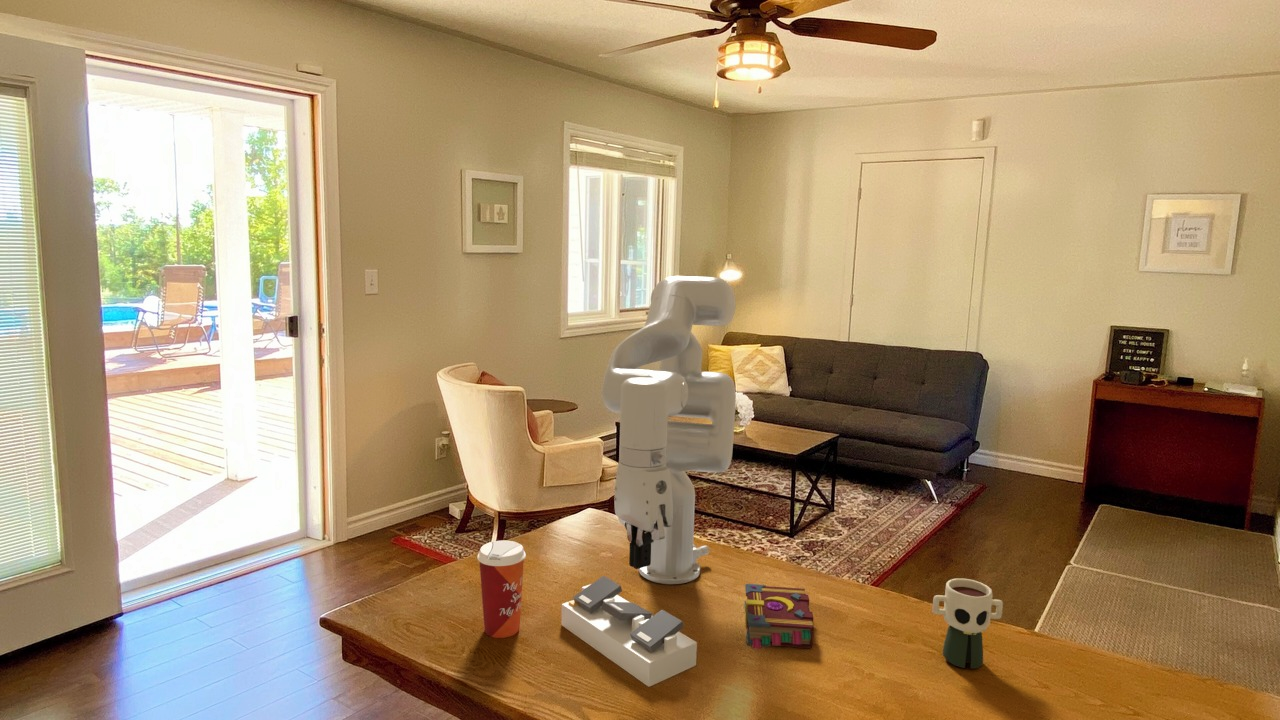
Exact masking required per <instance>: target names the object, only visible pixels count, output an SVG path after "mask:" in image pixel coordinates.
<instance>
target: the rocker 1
mask: <svg viewBox="0 0 1280 720" xmlns="http://www.w3.org/2000/svg"><path fill="white" fill-rule="evenodd" d="M590 584H591V585H590ZM590 584H588V585H589V586H588V587H587V588H585V589H584V590H582V589H581V591H579V592H578V593H577V594H575V595H574V596H573V598H572V599H574V602H575V603H576V604H578V605H579V606H581V607H582V608H584V609H585V610H587V611H588V612H590V613H593V612H594V611H596V610H597V609H598V608H600V607H601V606H602V604H603V600H605V599H608V598H611V597H615V596H616V595H619V594H620V593H622V591H623V589H622V586H621V585H620V584H618V583H617V582H615V581H614V580H612V579H610V578H608V577H607V576H605V575H602V576H601V577H600V578H598V579H597V580H596V581H594V582H592V583H590Z"/></svg>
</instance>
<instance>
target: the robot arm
mask: <svg viewBox="0 0 1280 720" xmlns="http://www.w3.org/2000/svg"><path fill="white" fill-rule="evenodd" d="M735 312H736V296H735V292H734V289H733V288H732V286H731V285H730V284H729V283H728V282H727V281H726V280H724V278H723V279H722V278H721V277H716V276H692V275H691V276H689V275H688V276H686V275H674V276H673V275H672V276H667V277H664V278H663V279H661V280H660V281H659V282H658V283H657V284H656V286H655V287H654V288H653V289H652V292H651V295H650V305H649V309H648V313H647V316H646V320H645V323H644V326H643V327H641V328H640V329H637V330H636V331H635V332H633V333H631V334H630V335H629V336H627V337H626V338H625V339H624V340H622V341H620V343H618V345H617V346H616V347H614V349H613V351H612V352H611V355H610V357H609V360H608V363H607V366H606V369H605V371H604V372H605V373H604V375H603V380H602V385H601V399H602V402H603V404H604V407H605V408H606V409H608V410H609V411H610V412H613V413H617V414H619V415H620V416H619V444H618V445H619V449H618V450H619V452H618V453H619V455H618V456H619V457H618V464H617V468H616V474H615V475H616V476H615V484H614V498H613V499H614V503H613V504H614V513H615V516H616V517H618V522H620V523H621V524H622V526H623V527H624V528H625V530H626V535H627V536H626V538H627V540H628V542H629V556H628V557H629V561H628V565H629V566H630V567H632V568H634V569H635V570H638V572H639V574H640V575H641V576H642V577H643V578H645V580H648V581H650V582H653V583H657V584H662V585H681V584H685V583H686V584H687V583H689V582H693V581H694V580H696V579H697V578H698V577H699V576H700V574H701V566H700V564H699V563H698V562H697V560H699V558H700V557H702V556H705V555H709V553H710V548H709V546H708V545H702V546H698V547H697V546H696V544H694V538H695V537H694V536H695V535H694V534H695V533H694V531H695V506H696V505H695V503H696V502H695V501H696V490H695V487H694V484H693V483H692V480H691V479H690V477H689V475H687V473H686V472H689V471H690V472H700V473H702V472H703V473H722V472H725V471H727V470H728V469H729V467H730V465H731V462H732V458H733V448H734V435H735V433H734V432H735V420H736V418H735V417H736V401H737V400H736V395H737V394H736V392H737V391H736V386H735V382H734V380H733V378H732V377H731V376H730V375H729V374H727V373H725V372H718V371H716V372H715V371H705V370H704V371H703V370H702V363H703V362H702V361H703V348H702V345H701V343H700V341H699V340H698V338H696V336H695V335H694V333H692V328H693V326H707V327H708V326H709V327H710V326H712V327H726V326H728V325H729V324H730V323H731V322H732V321H733V318H734V316H735ZM657 362H660V363H659V364H660V367H659V370H652V369H639V368H641V367H643V366H646V365H649V364H652V363H657ZM672 417H681V418H683V417H685V418H696V419H708V420H710V421H711V423H698V422H697V423H696V422H691V421H690V422H687V421H673V420H670V421H669V420H668V418H672Z"/></svg>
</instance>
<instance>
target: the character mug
mask: <svg viewBox="0 0 1280 720" xmlns="http://www.w3.org/2000/svg"><path fill="white" fill-rule="evenodd" d="M993 597H994V596H993V589H992V588H990V587H989V586H988V585H986V584H985V583H982V582H981V581H977V580H974V579H969V578H951V579H949V580H948V581H946V583H945V591H944V595H940V594H937V595H934V596H933V599H932V610H931V611H932V614H935V615H941V616H942V615H943V619H944V621H945V623H947V624H948V625H949V626H948V627H947V629H946V630H947V631H946V635H945V640H944V644H943V648H942V656H943V657H944V658H945V661H947V662H949V663H950V664H952V665H953V666H957V667H960V668H966V663H970V669H976V668H980V667H981V666H982V665H983V664H984V646H983V645H984V644H983V643H984V642H983V635H982V634H983V633H982V632H984V631H986V630H987V629H988V628H989V626H990V625H991V620H993V619H994V620H1001V619H1002V617H1003V608H1004V607H1003V605H1004V602H1003V600H1001V599H996V598H995V599H993ZM940 602H943V603H944V604H943V608H940ZM992 606H995V608H996V609H995V612H992Z"/></svg>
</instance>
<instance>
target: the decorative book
mask: <svg viewBox="0 0 1280 720" xmlns="http://www.w3.org/2000/svg"><path fill="white" fill-rule="evenodd" d="M744 590H745V597H746V598H747V599H745V600H744V613H745V615H744V626H745V627H747V628H746V645H747V646H752V649H756V650H757V649H758V650H761V647H766V648H767V647H768V648H769V647H770V646H771V647H773V646H774V647H786V648H787V647H788V648H802V649H813V647H814V646H813V644H814V629H815V628H814V614H813V611H811V610H810V597H809V594H807V593H806V588H799V587H798V588H796V587H794V588H793V587H784V586H783V587H781V586H770V585H768V586H767V585H766V584H755V583H754V584H753V583H745V589H744Z"/></svg>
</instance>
